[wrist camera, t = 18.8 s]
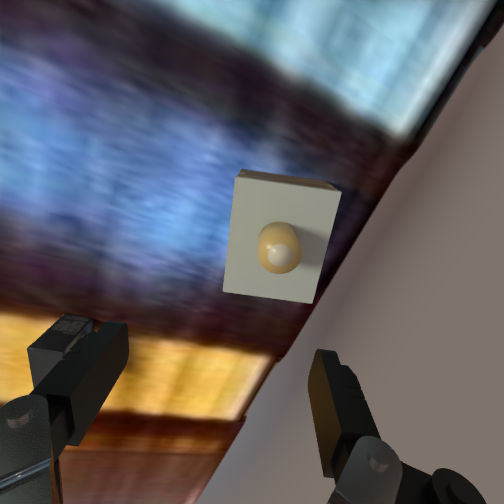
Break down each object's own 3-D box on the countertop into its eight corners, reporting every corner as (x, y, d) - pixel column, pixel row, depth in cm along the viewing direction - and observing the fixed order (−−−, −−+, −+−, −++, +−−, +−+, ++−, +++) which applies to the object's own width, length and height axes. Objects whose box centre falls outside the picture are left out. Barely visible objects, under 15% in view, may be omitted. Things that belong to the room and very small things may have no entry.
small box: (97, 356, 62) (67, 397, 53) (67, 351, 62) (32, 391, 53) (95, 317, 58) (62, 353, 49) (63, 312, 58) (24, 348, 48)
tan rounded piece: (262, 217, 39) (263, 231, 35) (301, 225, 40) (307, 240, 35) (254, 252, 42) (254, 269, 37) (291, 260, 42) (295, 277, 37)
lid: (235, 175, 38) (235, 176, 37) (340, 190, 38) (341, 192, 38) (223, 288, 45) (222, 291, 45) (311, 300, 46) (312, 303, 45)
